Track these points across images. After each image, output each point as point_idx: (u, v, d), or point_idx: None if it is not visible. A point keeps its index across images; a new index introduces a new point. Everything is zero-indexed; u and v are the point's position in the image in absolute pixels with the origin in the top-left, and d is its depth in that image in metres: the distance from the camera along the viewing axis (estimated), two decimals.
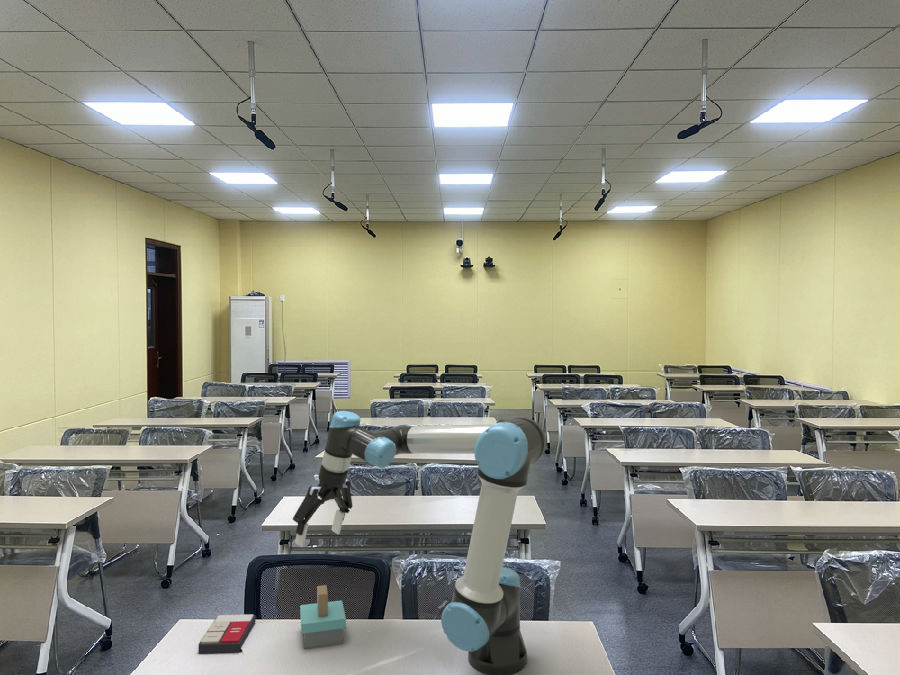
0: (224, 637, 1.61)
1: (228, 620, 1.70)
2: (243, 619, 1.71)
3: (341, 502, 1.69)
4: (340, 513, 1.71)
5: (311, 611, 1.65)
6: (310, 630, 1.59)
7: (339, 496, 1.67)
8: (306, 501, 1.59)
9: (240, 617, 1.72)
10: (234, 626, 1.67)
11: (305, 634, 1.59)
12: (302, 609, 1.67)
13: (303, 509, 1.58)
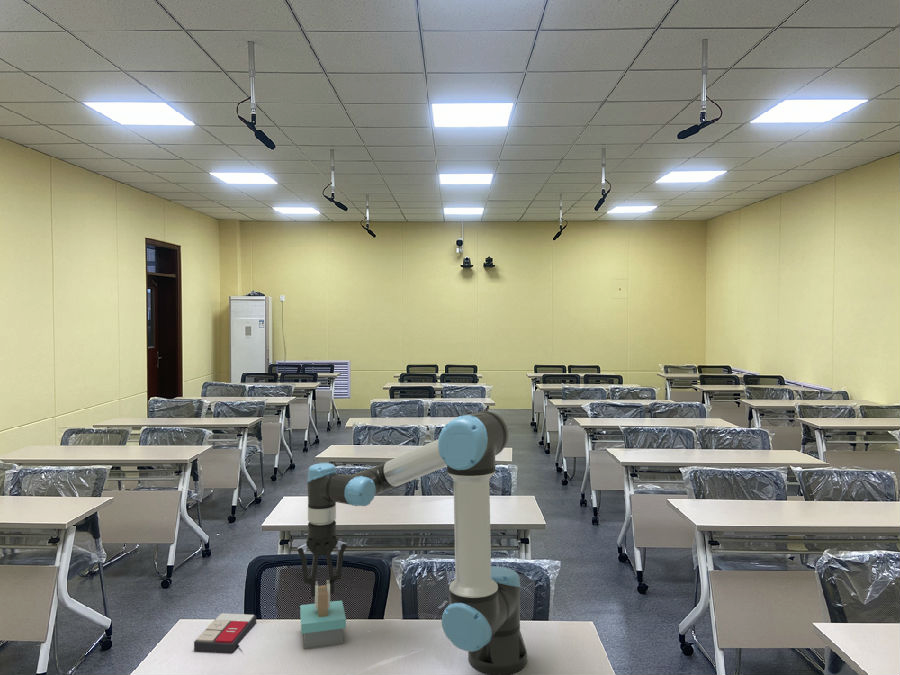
0: (219, 636, 1.62)
1: (228, 619, 1.71)
2: (243, 619, 1.71)
3: (329, 566, 1.65)
4: (327, 584, 1.65)
5: (311, 611, 1.65)
6: (310, 630, 1.59)
7: (327, 555, 1.64)
8: None
9: (240, 617, 1.72)
10: (231, 626, 1.67)
11: (305, 634, 1.59)
12: (302, 609, 1.67)
13: (302, 569, 1.64)
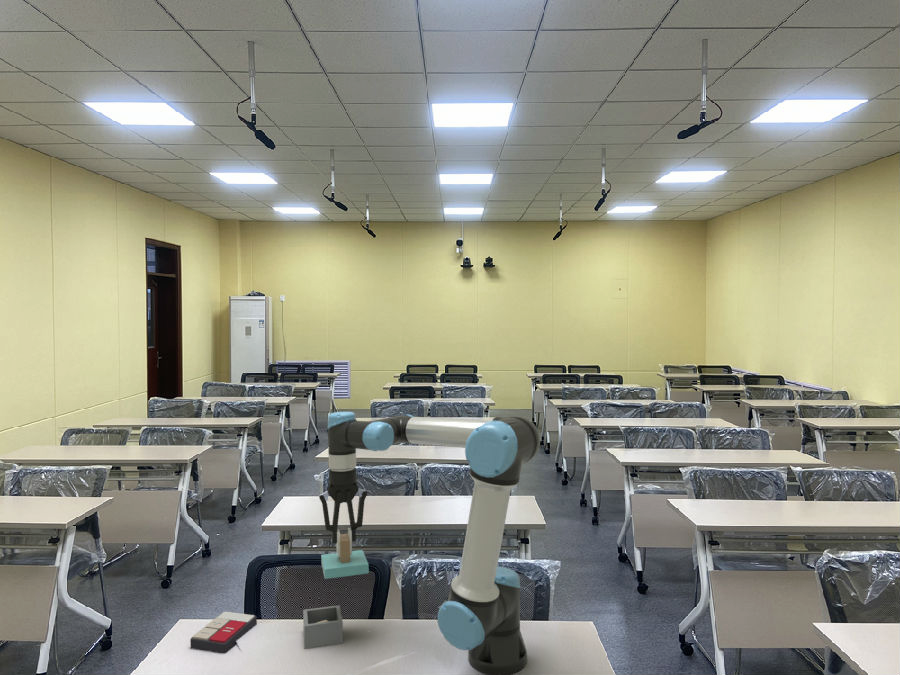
0: (214, 635, 1.62)
1: (229, 618, 1.72)
2: (242, 619, 1.71)
3: (350, 513, 1.65)
4: (348, 531, 1.66)
5: (333, 559, 1.66)
6: (333, 575, 1.59)
7: (349, 502, 1.65)
8: None
9: (241, 616, 1.72)
10: (229, 625, 1.67)
11: (305, 634, 1.59)
12: (324, 557, 1.67)
13: (324, 516, 1.64)
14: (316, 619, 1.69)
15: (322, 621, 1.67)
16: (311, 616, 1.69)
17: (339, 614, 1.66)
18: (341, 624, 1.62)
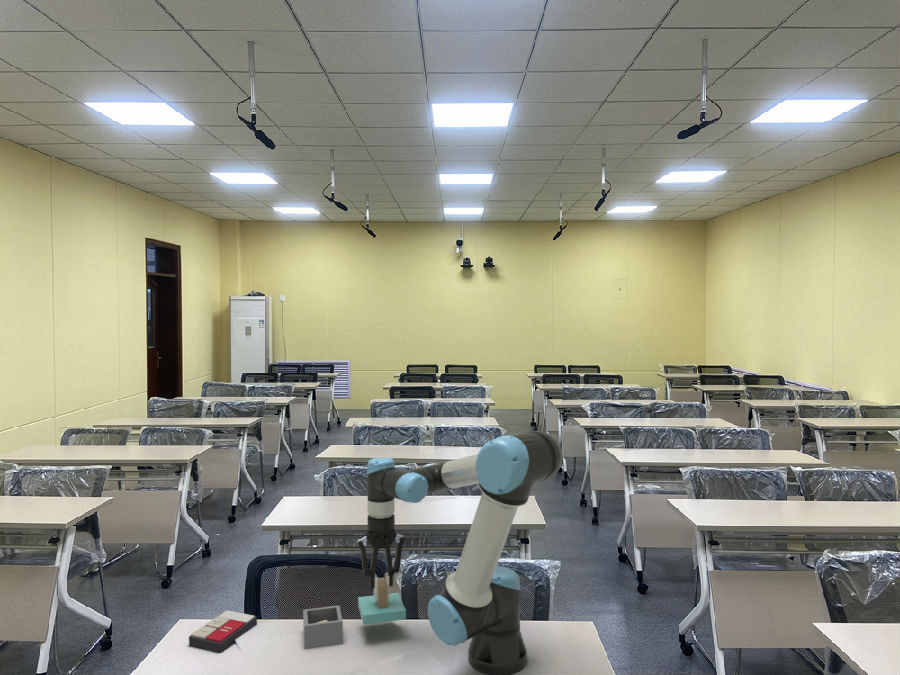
0: (212, 634, 1.63)
1: (230, 617, 1.72)
2: (242, 619, 1.71)
3: (388, 558, 1.67)
4: (386, 576, 1.68)
5: (370, 603, 1.68)
6: (371, 621, 1.61)
7: (387, 548, 1.66)
8: (361, 554, 1.66)
9: (241, 616, 1.72)
10: (228, 624, 1.68)
11: (305, 634, 1.59)
12: (361, 601, 1.69)
13: (362, 562, 1.66)
14: (316, 619, 1.69)
15: (322, 621, 1.67)
16: (311, 616, 1.69)
17: (339, 614, 1.66)
18: (341, 624, 1.62)
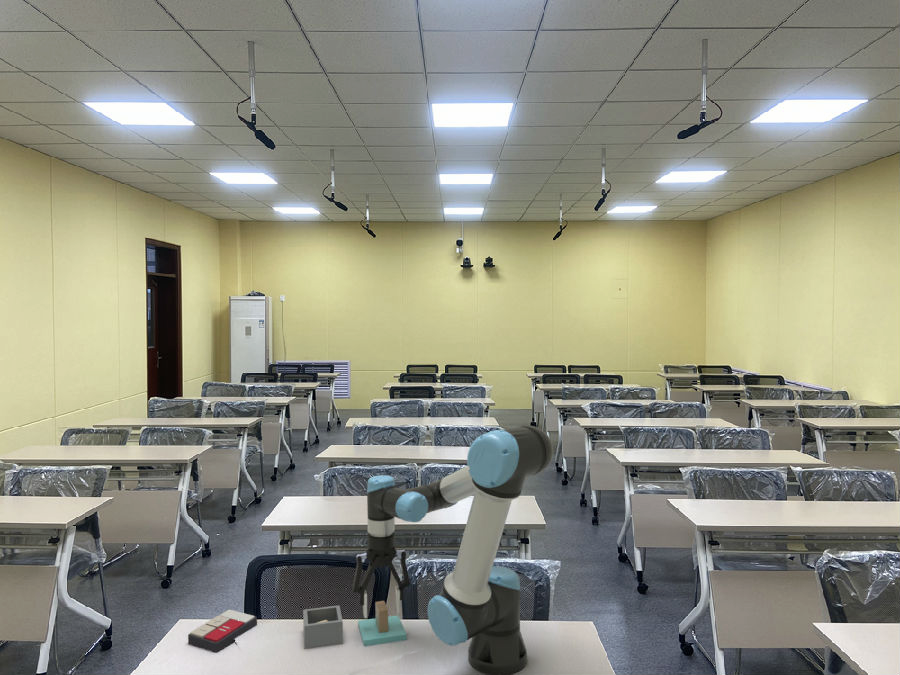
0: (210, 633, 1.63)
1: (230, 616, 1.73)
2: (242, 619, 1.71)
3: (394, 575, 1.67)
4: (396, 590, 1.68)
5: (371, 627, 1.68)
6: None
7: (390, 565, 1.67)
8: (356, 569, 1.66)
9: (242, 616, 1.73)
10: (227, 624, 1.68)
11: (305, 634, 1.59)
12: (361, 625, 1.69)
13: (355, 577, 1.65)
14: (316, 619, 1.69)
15: (322, 621, 1.67)
16: (311, 616, 1.69)
17: (339, 614, 1.66)
18: (341, 624, 1.62)
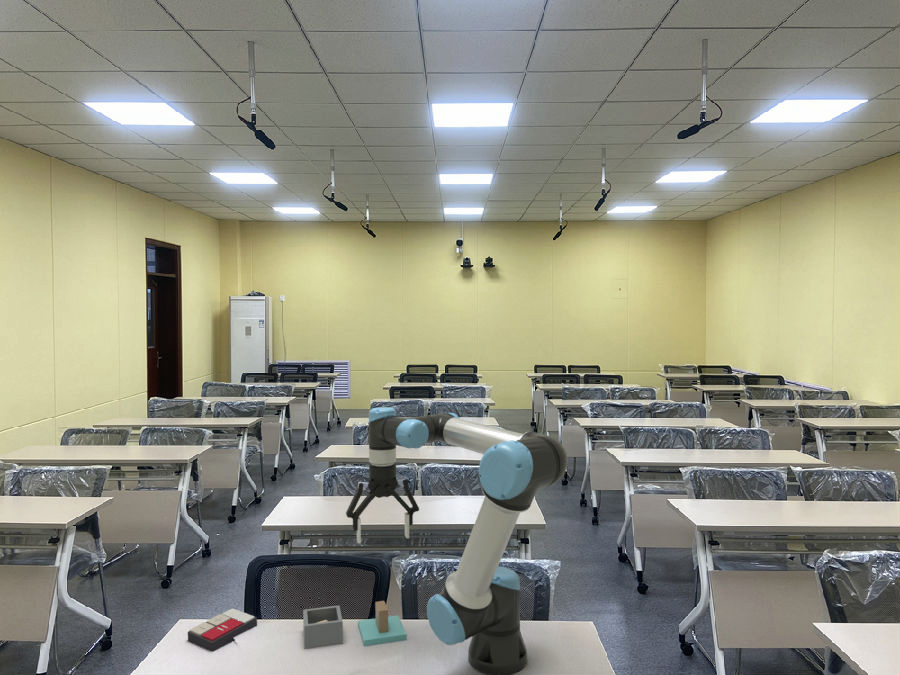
0: (207, 632, 1.64)
1: (231, 616, 1.73)
2: (242, 619, 1.71)
3: (400, 502, 1.68)
4: (405, 515, 1.70)
5: (371, 627, 1.68)
6: None
7: (393, 494, 1.67)
8: (354, 495, 1.66)
9: (242, 616, 1.73)
10: (226, 623, 1.68)
11: (305, 634, 1.59)
12: (361, 625, 1.69)
13: (351, 503, 1.65)
14: (316, 619, 1.69)
15: (322, 621, 1.67)
16: (311, 616, 1.69)
17: (339, 614, 1.66)
18: (341, 624, 1.62)
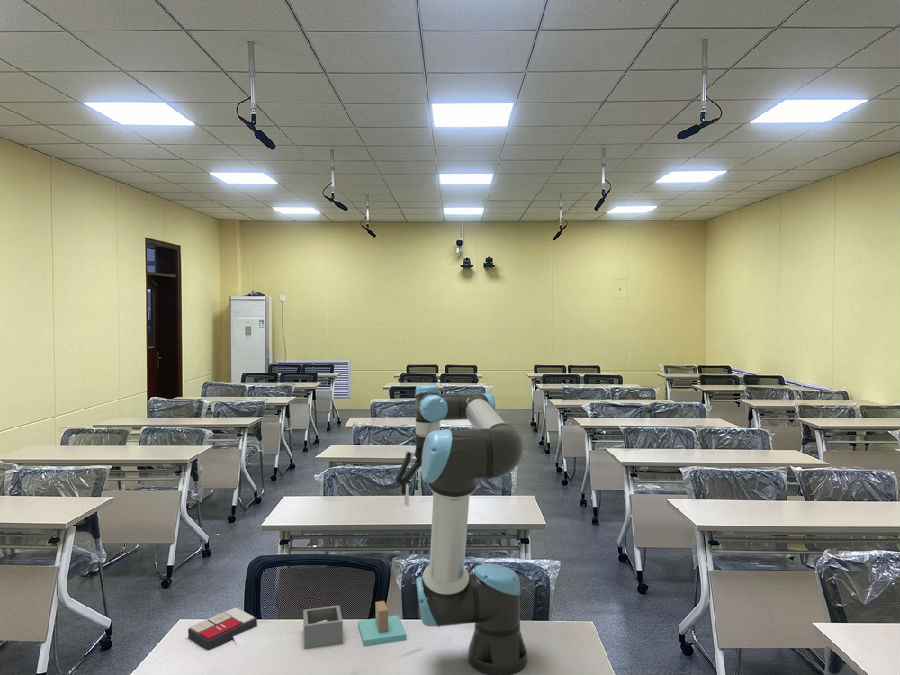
0: (206, 630, 1.65)
1: (233, 615, 1.74)
2: (241, 619, 1.71)
3: None
4: None
5: (371, 627, 1.68)
6: None
7: None
8: (403, 463, 1.85)
9: (243, 616, 1.73)
10: (226, 622, 1.69)
11: (305, 634, 1.59)
12: (361, 625, 1.69)
13: (400, 470, 1.84)
14: (316, 619, 1.69)
15: (322, 621, 1.67)
16: (311, 616, 1.69)
17: (339, 614, 1.66)
18: (341, 624, 1.62)
